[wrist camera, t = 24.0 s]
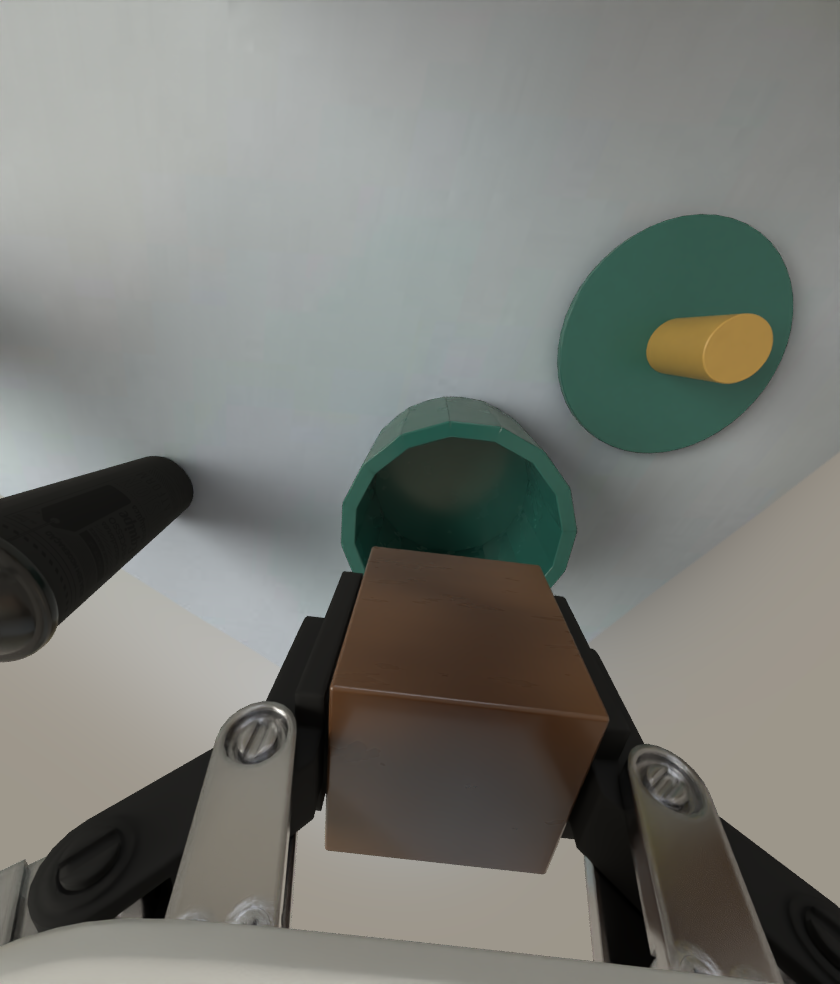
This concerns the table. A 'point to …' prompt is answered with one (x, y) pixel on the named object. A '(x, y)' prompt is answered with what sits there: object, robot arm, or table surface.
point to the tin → (459, 490)
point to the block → (457, 715)
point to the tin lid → (675, 333)
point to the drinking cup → (77, 542)
